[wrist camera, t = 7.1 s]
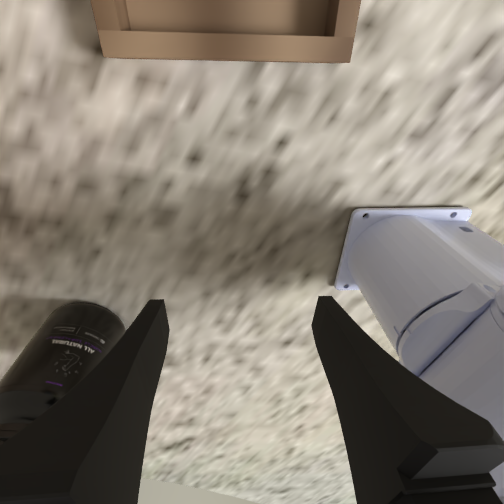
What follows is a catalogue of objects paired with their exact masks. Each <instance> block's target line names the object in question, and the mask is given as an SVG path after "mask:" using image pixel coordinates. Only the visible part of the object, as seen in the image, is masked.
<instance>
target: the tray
mask: <svg viewBox="0 0 504 504" xmlns="http://www.w3.org/2000/svg"><path fill="white" fill-rule="evenodd" d="M360 4H361V0H91V5H92V9H93V13H94V18H95V22H96V26H97V30H98V35H99V39H100V43H101V48H102V52H103V56H104V57H108V58H122V59H168V60H213V61H259V62H305V63H350V59H351V54H352V48H353V43H354V37H355V32H356V26H357V20H358V15H359V9H360Z"/></svg>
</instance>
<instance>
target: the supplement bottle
mask: <svg viewBox="0 0 504 504" xmlns="http://www.w3.org/2000/svg"><path fill="white" fill-rule="evenodd" d="M124 333H125V327H124V325H123V323H122V321H121V320H120V319H119V318H118V317H117V316H116V315H115V314H114V313H112V312H111V311H109V310H108V309H106V308H103V307H101V306H98V305H94V304H89V303H72V304H67V305H64V306H61V307H59V308H58V309H56V310H55V311H54V312H53V313H52V314H51V315H50V316H49V317H48V319H47V320H46V321H45V322H44V324H43V325H42V326H41V328H40V329H39V330H38V332H37V333H36V334H35V336H34V337H33V338H32V339H31V341H30V342H29V343H28V345H27V346H26V347H25V349H24V350H23V351H22V353H21V354H20V355H19V357H18V358H17V359H16V361H15V362H14V363H13V365H12V366H11V367H10V368H9V370H8V371H7V372H6V374H5V375H4V376H3V378H2V379H1V380H0V445H1V444H3V443H4V442H5V441H7V440H8V439H9V438H11V437H12V436H14V435H15V434H16V433H18V432H19V431H21V430H22V429H23V428H25V427H26V426H27V425H29V424H30V423H31V422H33V421H34V420H35V419H36V418H38V417H39V416H40V415H41V414H42V413H44V412H45V411H46V410H47V409H49V408H50V407H51V406H52V405H54V404H55V403H56V402H57V401H58V400H60V399H61V398H62V397H63V396H64V395H65V394H67V393H68V392H69V391H70V390H71V389H72V388H73V387H74V386H75V385H76V384H78V383H79V382H80V381H81V380H82V379H83V378H84V377H85V376H86V375H87V374H88V373H89V372H90V371H91V370H92V369H93V368H94V367H95V366H96V365H97V364H98V363H99V362H100V361H101V360H102V359H103V358H104V357H105V355H106V354H107V353H108V352H109V351H110V350H111V349H112V347H113V346H114V345H115V344H116V343H117V342H118V341H119V339H120V338H121V337H122V336H123V334H124Z"/></svg>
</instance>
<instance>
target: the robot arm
mask: <svg viewBox="0 0 504 504" xmlns="http://www.w3.org/2000/svg"><path fill="white" fill-rule="evenodd" d="M365 213H367V215H366V216H365V217H362V216H363V215H364V214H365ZM451 213H453V214H452V215H451ZM471 214H472V210H471V209H469V208H468V207H429V208H359V209H356V210H354V211H353V212H352V214H351V218H350V222H349V226H348V231H347V235H346V239H345V243H344V247H343V251H342V255H341V259H340V263H339V267H338V272H337V276H336V280H335V284H334V286H335V288H336V289H337V290H360V291H361V293H362V294H363V296H364V298H365V299H366V301H367V303H368V305H369V306H370V308H371V310H372V311H373V313H374V315H375V317H376V318H377V320H378V322H379V323H380V325H381V327H382V329H383V330H384V332H385V334H386V335H387V337H388V339H389V341H390V342H391V344H392V346H393V347H394V349H395V351H396V353H397V354H398V356H399V362H398V361H397V360H395V359H394V358H393V357H392V356H390V355H389V354H388V353H387V352H386V351H385V350H383V349H382V348H381V347H380V346H379V345H378V344H377V343H376V342H375V341H374V340H373V339H371V338H370V337H369V336H368V335H367V334H366V333H365V332H364V331H363V330H362V329H361V328H360V327H359V326H358V325H357V323H356V322H355V321H354V320H353V319H352V318H351V317H350V316H349V315H348V314H347V313H346V312H345V311H344V309H343V308H342V307H341V306H340V305H339V304H338V303H337V302H336V301H335V300H334V299H333V297H332V296H319V297H318V301H317V305H316V309H315V313H314V317H313V321H312V330H313V335H314V340H315V344H316V347H317V350H318V353H319V356H320V359H321V362H322V365H323V368H324V370H325V373H326V376H327V379H328V382H329V384H330V387H331V390H332V393H333V396H334V400H335V403H336V407H337V411H338V415H339V419H340V423H341V428H342V432H343V436H344V441H345V445H346V450H347V454H348V459H349V464H350V469H351V474H352V479H353V484H354V490H355V495H356V501H357V504H504V245H503V244H502V243H500V242H499V241H497V240H496V239H494V238H493V237H491V236H490V235H488V234H486V233H485V232H483V231H482V230H480V229H479V228H477V227H476V226H474V225H473V224H471V223H469V222H468V220H469V218H470V216H471ZM345 284H347V285H345ZM344 285H345V286H344ZM168 337H169V324H168V319H167V314H166V308H165V303H164V299H162V300H149V301H148V302H147V304H146V305H145V307H144V308H143V309H142V311H141V312H140V314H139V315H138V316H137V318H136V319H135V320H134V322H133V323H132V324H131V326H130V327H129V328H128V329H127V331H126V332H125V333H124V334H123V336H122V337H121V338H120V339H119V341H118V342H117V343H116V344H115V345H114V346H113V347H112V349H111V350H110V351H109V352H108V353H107V354H106V355H105V357H104V358H103V359H102V360H101V361H100V362H99V363H98V364H97V365H96V366H95V367H94V368H93V369H92V370H91V371H90V372H89V373H88V374H87V375H86V376H85V377H84V378H83V379H82V380H81V381H80V382H79V383H78V384H76V385H75V386H74V387H73V388H72V389H71V390H70V391H69V392H68V393H67V394H65V395H64V396H63V397H62V398H61V399H60V400H58V401H57V402H56V403H55V404H54V405H52V406H51V407H50V408H49V409H47V410H46V411H45V412H44V413H42V414H41V415H40V416H39V417H38V418H36V419H35V420H34V421H33V422H31V423H30V424H29V425H27V426H26V427H25V428H23V429H22V430H21V431H19V432H18V433H16V434H15V435H14V436H12V437H11V438H9V439H8V440H7V441H5V442H4V443H3V444H1V445H0V504H137V503H138V494H139V487H140V479H141V472H142V465H143V458H144V452H145V445H146V439H147V433H148V427H149V421H150V415H151V409H152V405H153V401H154V397H155V393H156V389H157V385H158V382H159V378H160V374H161V370H162V367H163V363H164V359H165V355H166V351H167V344H168Z"/></svg>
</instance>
